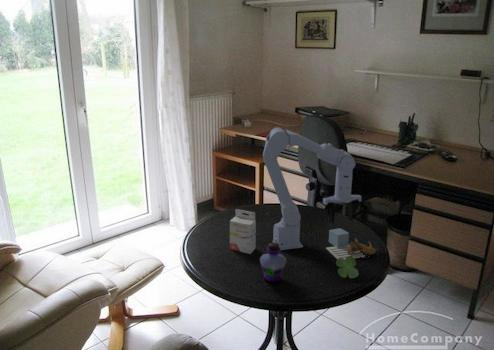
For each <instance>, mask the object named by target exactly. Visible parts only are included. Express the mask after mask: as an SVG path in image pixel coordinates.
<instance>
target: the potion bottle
mask: <svg viewBox="0 0 494 350" xmlns="http://www.w3.org/2000/svg"><path fill="white" fill-rule="evenodd" d="M265 252H266V253H264V254H262V255H261V256H260V258H259V262H260V267H261V269H262V271H263V276H264V277H263V278H264V281H266V283H272V284H275V283H279V282H280V281H281V280H282V276H283V272H284V268H285V266H286V264H287V261H288V259H287V257H285V256H284V255H283V254H281V250H280V247H279V244H278V243H273V242H269V243H268V246H266V251H265Z"/></svg>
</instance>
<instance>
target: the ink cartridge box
mask: <svg viewBox="0 0 494 350" xmlns="http://www.w3.org/2000/svg"><path fill="white" fill-rule="evenodd" d="M234 211H235V216H234V217H233V218H231V219H230V220H229V250H232V251H236V252H241V253H244V254H249V255H251V254H252V253H253V252H254V250H255V249H256V240H257V239H256V238H257V237H256V233H257V230H256V226H257V225H256V223H257V220H256V212H254V211H249V210H243V209H238V208H235V210H234ZM246 214H247V215H246Z"/></svg>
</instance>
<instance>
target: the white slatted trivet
mask: <svg viewBox="0 0 494 350" xmlns="http://www.w3.org/2000/svg"><path fill="white" fill-rule="evenodd" d="M325 249H326V250H327V251H328V252H329V253H330V254H331V255H332V256H333V257H334V258H335V259H336V260H337V259H338V258H343V259H345V260H346V257H347V256H351V257H353V258H354V259H359V258H360V257H361V258H366V257H365V255H363V253H361V252H360V251H356V252H354V254H352V253H349V254H348V253H347V246H344V247H339V248H337V247H335V246H329V247H325Z"/></svg>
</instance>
